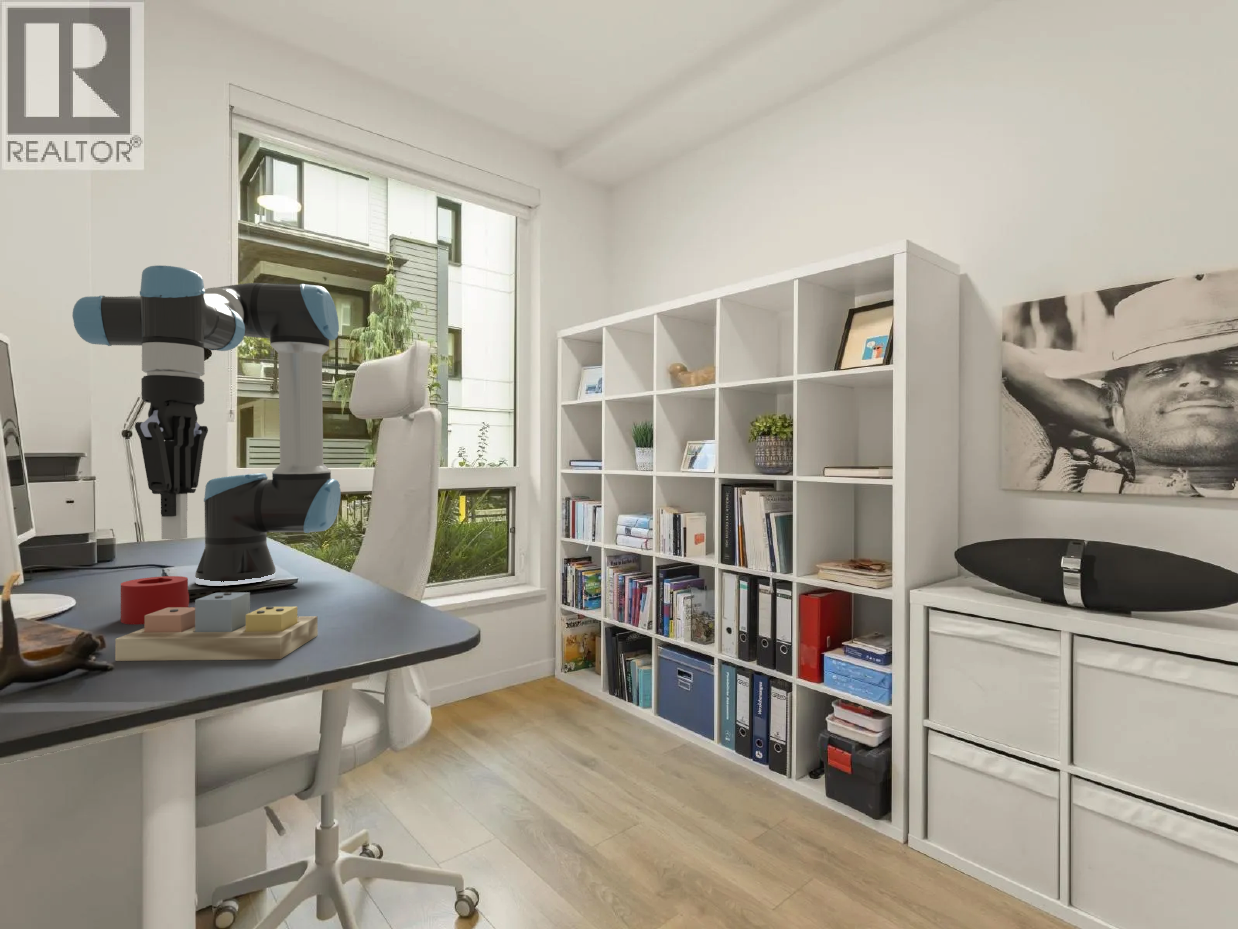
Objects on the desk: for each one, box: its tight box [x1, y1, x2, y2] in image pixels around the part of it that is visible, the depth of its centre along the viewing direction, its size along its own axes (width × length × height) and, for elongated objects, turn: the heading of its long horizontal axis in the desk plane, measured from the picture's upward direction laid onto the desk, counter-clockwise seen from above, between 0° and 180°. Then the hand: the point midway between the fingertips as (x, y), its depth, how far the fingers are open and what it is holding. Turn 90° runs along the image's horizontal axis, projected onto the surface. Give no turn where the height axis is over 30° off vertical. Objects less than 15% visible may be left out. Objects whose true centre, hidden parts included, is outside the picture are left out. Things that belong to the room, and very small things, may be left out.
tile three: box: [246, 606, 298, 632], centre depth 94 cm, size 5×5×5 cm
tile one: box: [144, 606, 195, 633], centre depth 94 cm, size 5×5×5 cm
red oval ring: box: [120, 575, 190, 625], centre depth 116 cm, size 18×9×7 cm, turn 18°
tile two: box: [194, 591, 251, 632], centre depth 94 cm, size 5×5×5 cm
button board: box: [114, 615, 319, 662], centre depth 94 cm, size 12×22×3 cm, turn 92°
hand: (174, 538), depth 94 cm, fingers closed
